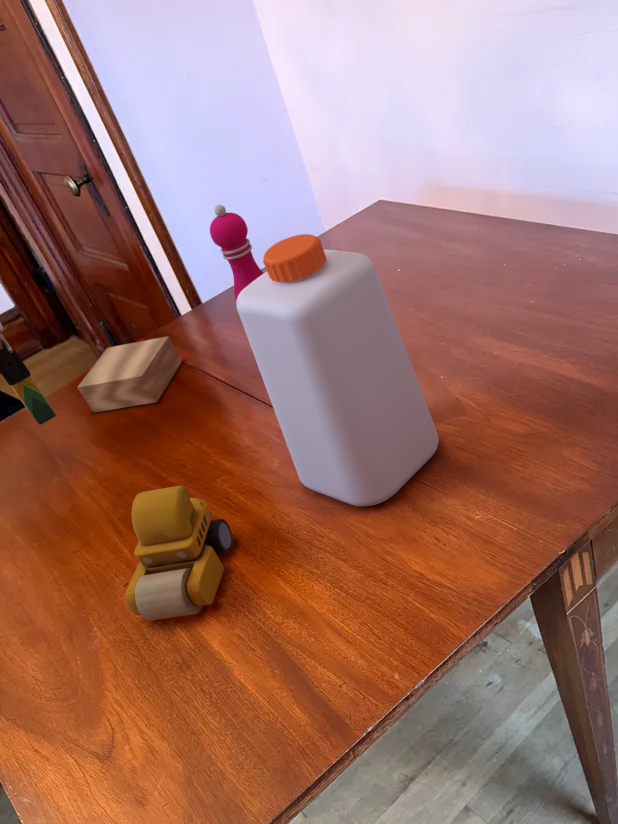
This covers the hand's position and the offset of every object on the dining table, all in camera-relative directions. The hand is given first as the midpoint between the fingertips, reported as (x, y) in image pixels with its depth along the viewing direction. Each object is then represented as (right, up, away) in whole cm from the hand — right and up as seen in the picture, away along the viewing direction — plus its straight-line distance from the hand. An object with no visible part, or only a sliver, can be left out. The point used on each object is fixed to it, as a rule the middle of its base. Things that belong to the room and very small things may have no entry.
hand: (13, 371), depth 106 cm
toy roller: (+31, -28, -20) cm, 47 cm away
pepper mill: (+31, +15, +25) cm, 43 cm away
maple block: (+11, +2, +19) cm, 22 cm away
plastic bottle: (+51, -15, -13) cm, 55 cm away
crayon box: (+2, -5, +5) cm, 8 cm away
